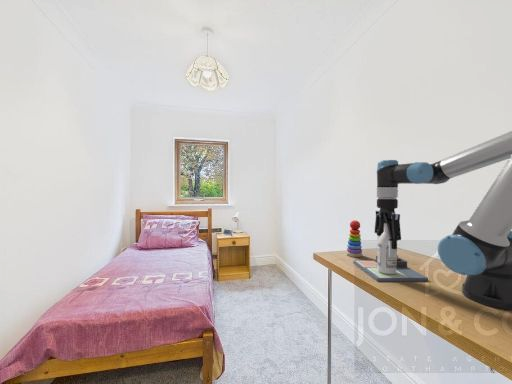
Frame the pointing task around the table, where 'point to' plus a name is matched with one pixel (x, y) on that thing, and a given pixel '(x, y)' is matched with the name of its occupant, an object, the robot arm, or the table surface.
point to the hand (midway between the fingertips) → (386, 253)
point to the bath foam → (385, 254)
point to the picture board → (401, 274)
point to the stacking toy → (354, 240)
